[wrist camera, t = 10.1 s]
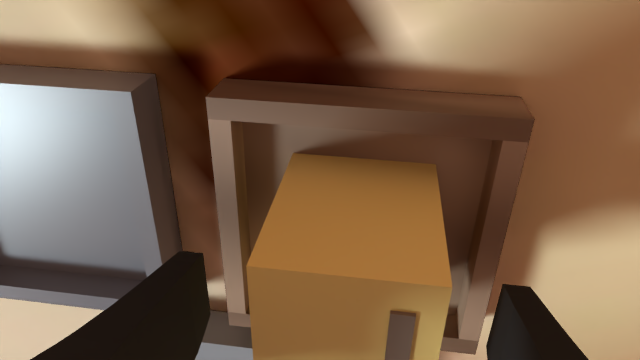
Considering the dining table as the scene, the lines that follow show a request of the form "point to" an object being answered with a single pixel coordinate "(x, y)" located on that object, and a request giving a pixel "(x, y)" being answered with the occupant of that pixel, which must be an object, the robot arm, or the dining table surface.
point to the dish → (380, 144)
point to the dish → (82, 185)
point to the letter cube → (351, 263)
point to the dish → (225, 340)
